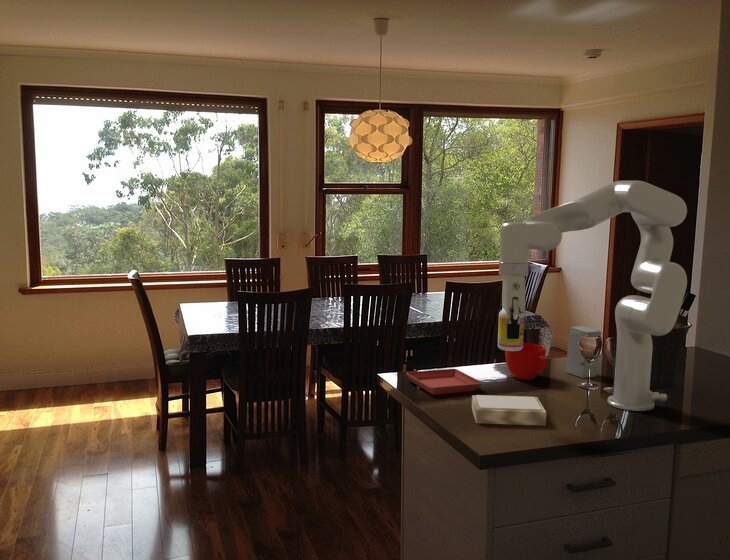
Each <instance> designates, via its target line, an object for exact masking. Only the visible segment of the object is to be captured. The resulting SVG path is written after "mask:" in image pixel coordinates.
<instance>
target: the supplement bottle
mask: <svg viewBox="0 0 730 560" xmlns="http://www.w3.org/2000/svg"><path fill="white" fill-rule="evenodd" d="M503 307H504V302H503ZM503 307H502V309H500V311H499V313H498V328H497V329H498V330H497V331H498V332H497V348H499V350H501V351H505V350H506V351H519V350H521V349H522V348H523V343H524V332H525V331H524V329H525V328H524V327H525V313H523V314H522V313H521V312H520V310H519V319H520V323H519V324H520V332H519V339H507V323H508V313H507V312H506V311H505V310H504V309H503ZM519 309H520V308H519ZM510 312H513V310H510ZM511 316H512V315H511Z"/></svg>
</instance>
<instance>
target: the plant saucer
mask: <svg viewBox="0 0 730 560" xmlns="http://www.w3.org/2000/svg"><path fill="white" fill-rule="evenodd" d="M405 374H406V376H407V377H408V378H409V380H410V381H411V382H412V383H413V384H415V385H416V386H418V387H420V388H421V389H423V390H424V391H425V392H427V393H429V394H431V395H433V396H435V395H446V394H447V395H448V394H456V393H457V392H458V393H468V392H475V391H476V390H477V389H479V388H480V387H481V386H483V382H482V381H480V380H479V379H477V378H474V377H472V376H471V375H468V374H467V373H465V372H463V371H461V370H459V369H457V368H446V369H445V368H444V369H434V370H432V369H431V370H420V371H407V372H406V373H405ZM467 391H468V392H467Z"/></svg>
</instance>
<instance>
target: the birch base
mask: <svg viewBox="0 0 730 560" xmlns="http://www.w3.org/2000/svg"><path fill="white" fill-rule="evenodd" d="M471 410H472V414H473V418H474V420H475V424H485V425H486V424H491V425H516V426H519V425H520V426H546V425H547V411H546V410H545V408H544V406H543V405H542V403H541V401H540V400H539V397H537V396H523V395H522V396H517V395H516V396H515V395H486V394H485V395H482V394H476V395H475V394H474V395H471Z"/></svg>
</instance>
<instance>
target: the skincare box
mask: <svg viewBox="0 0 730 560" xmlns="http://www.w3.org/2000/svg"><path fill="white" fill-rule="evenodd" d="M585 335H588V336H587V337H598V336H600V337H599V338H600V340H601V337H602V331H601V330H597V329H595V328H592V327H587V326H584V325H579V326H570V327H569V337H568V345H567V346H568V347H567V352H566V353H567V354H566V361H565V363H566V364H565V369H564V370H565V373H566V374H569V375H572V376H576V377H579V378H581V379H586V378H595V377H597V371H598V362H599V356H598V357H597V358H596V359H595V360H594V362H592V364H591V365H589V363H588V362H587V361H586V360H585V358H584V357H583V356H582V355H581V352H580V349H581V348H579V347H580V344H578V342H579V343H580V339H581V337H582V336H585ZM580 336H581V337H580ZM579 338H580V339H579ZM589 369H590V377H588V376H589Z"/></svg>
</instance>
